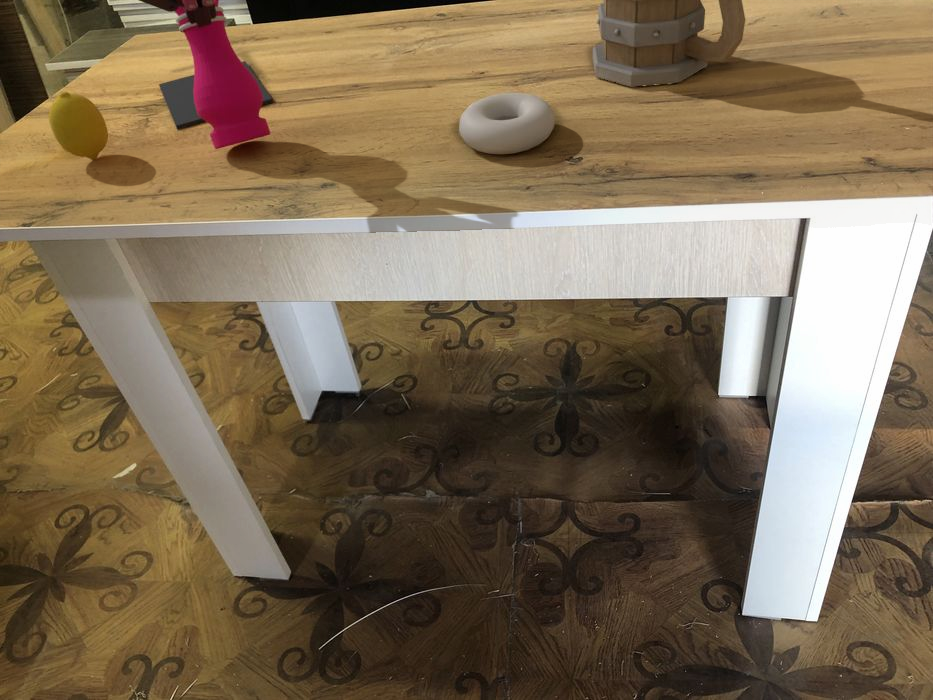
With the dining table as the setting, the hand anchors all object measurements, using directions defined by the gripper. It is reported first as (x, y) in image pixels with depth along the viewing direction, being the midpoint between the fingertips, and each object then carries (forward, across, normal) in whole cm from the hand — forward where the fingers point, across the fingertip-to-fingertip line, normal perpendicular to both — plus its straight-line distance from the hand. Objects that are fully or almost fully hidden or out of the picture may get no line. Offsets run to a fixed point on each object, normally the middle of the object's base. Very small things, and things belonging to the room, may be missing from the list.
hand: (201, 17), depth 79 cm
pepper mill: (+7, 0, +11) cm, 13 cm away
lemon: (+15, +16, +5) cm, 23 cm away
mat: (+22, 0, -2) cm, 22 cm away
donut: (-2, -25, +22) cm, 34 cm away
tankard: (0, -48, +20) cm, 52 cm away
